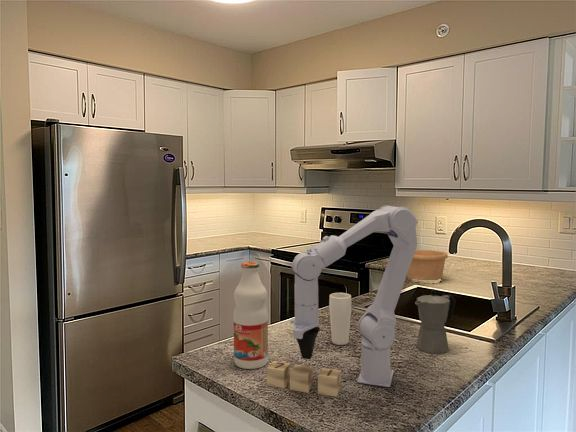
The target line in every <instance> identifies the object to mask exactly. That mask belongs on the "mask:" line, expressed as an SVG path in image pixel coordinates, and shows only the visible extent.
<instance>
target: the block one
mask: <svg viewBox="0 0 576 432" xmlns="http://www.w3.org/2000/svg"><path fill="white" fill-rule="evenodd" d="M341 389H342V370H339V369H331V368H326V367H323V368H322V369H321V370H320V371H319V373H318V375H317V394H318V395H323V396H330V397H338V395H339V392H340V391H341Z"/></svg>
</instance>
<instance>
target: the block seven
mask: <svg viewBox="0 0 576 432" xmlns="http://www.w3.org/2000/svg"><path fill="white" fill-rule="evenodd" d="M290 371H291V363H289V362H283V361H282V362H281V361H276V360H273V361H272V362H271V363H270V364H269V365H268V366H267V367H266V386H268V387H272V388H273V387H275V388H278V389H285V388H286V386H287V385H288V384H290Z"/></svg>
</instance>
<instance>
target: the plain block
mask: <svg viewBox="0 0 576 432" xmlns="http://www.w3.org/2000/svg"><path fill="white" fill-rule="evenodd" d="M292 367H293V368H292V369H290V381H289V390H290V391H295V392H300V393H309V392H310V390H311V389H312V387H313V385H314V366H307V365H302V364H301V365H300V364H295V365H294V366H292Z"/></svg>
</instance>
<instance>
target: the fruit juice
mask: <svg viewBox="0 0 576 432" xmlns="http://www.w3.org/2000/svg"><path fill="white" fill-rule="evenodd" d="M240 269H241V271H242V273H241V276H240V280H239V282H238V284H237V286H236V288H235V289H234V292H233V300H234V304H235V307H234V310H233V361H234V364H235V366H237V368H241V369H245V370H254V369H255V370H256V369H259V368H262V367H264V366H266V365H267V363H268V360H269V321H268V320H269V314H268V309H267V304H266V303H267V300H268V299H267V298H268V292H267V289H266V287H265V285H263V283H262V281H261V277H260V274H259V269H260V262H257V261H244V262H241V264H240Z"/></svg>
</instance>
